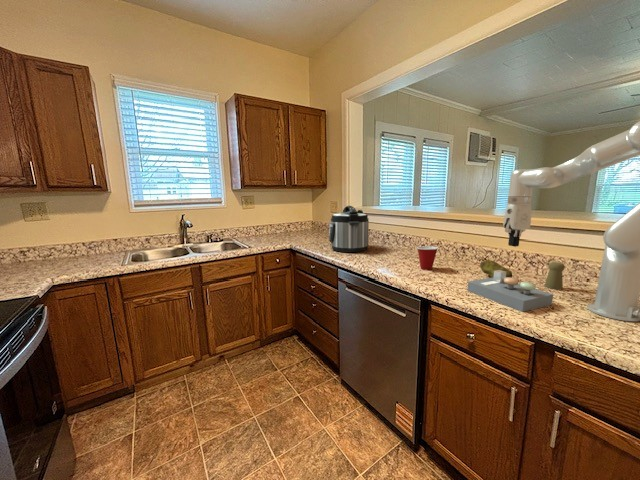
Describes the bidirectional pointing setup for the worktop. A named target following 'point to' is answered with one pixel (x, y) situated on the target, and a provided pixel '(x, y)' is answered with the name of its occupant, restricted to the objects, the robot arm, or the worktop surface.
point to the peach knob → (510, 282)
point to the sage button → (527, 287)
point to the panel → (510, 294)
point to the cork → (555, 276)
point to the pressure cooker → (349, 230)
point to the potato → (493, 268)
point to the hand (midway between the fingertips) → (513, 245)
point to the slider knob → (499, 275)
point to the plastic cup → (426, 256)
